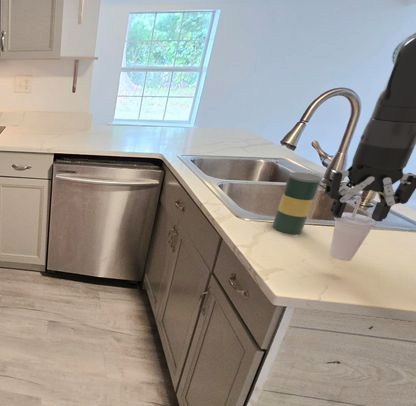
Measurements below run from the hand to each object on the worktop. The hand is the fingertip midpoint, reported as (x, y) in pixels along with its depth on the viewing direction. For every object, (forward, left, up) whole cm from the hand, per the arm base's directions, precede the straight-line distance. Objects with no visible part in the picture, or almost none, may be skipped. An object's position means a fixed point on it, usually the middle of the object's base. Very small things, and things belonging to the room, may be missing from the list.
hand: (355, 218), depth 79 cm
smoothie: (0, 0, -10) cm, 10 cm away
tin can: (+17, -17, -15) cm, 28 cm away
